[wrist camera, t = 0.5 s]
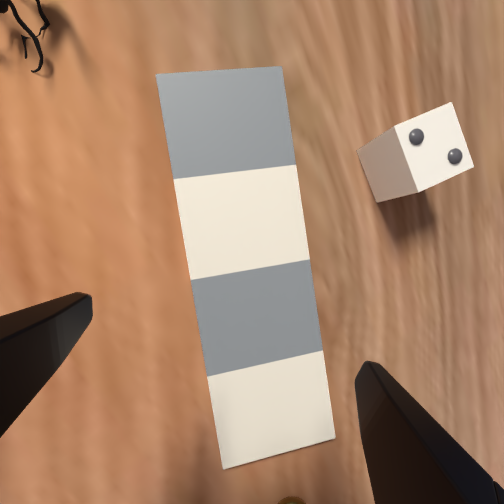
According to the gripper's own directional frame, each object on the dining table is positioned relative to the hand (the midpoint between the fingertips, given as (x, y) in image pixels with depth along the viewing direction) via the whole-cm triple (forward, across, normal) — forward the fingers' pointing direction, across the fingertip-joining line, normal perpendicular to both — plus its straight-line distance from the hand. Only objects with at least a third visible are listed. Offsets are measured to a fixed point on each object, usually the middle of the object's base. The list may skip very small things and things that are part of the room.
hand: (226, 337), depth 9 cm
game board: (+13, 0, +4) cm, 14 cm away
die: (+20, -11, -6) cm, 23 cm away
